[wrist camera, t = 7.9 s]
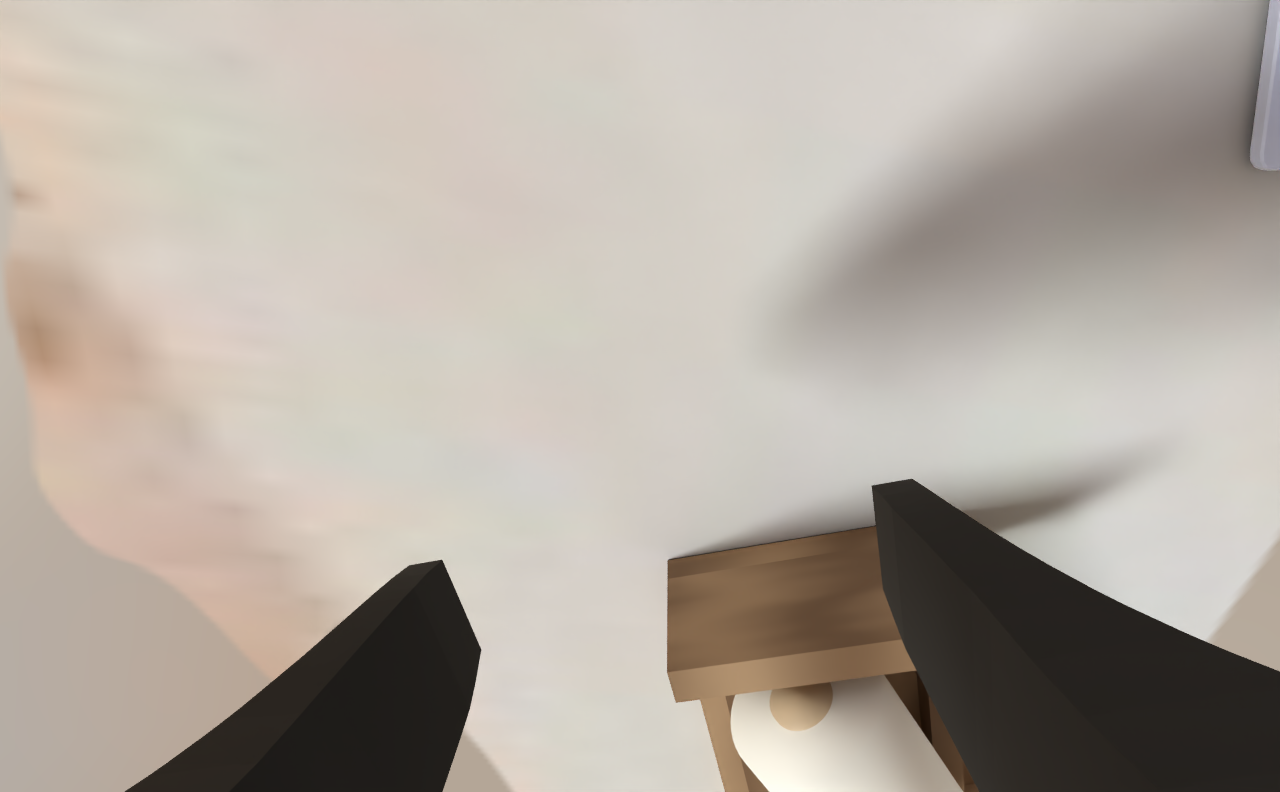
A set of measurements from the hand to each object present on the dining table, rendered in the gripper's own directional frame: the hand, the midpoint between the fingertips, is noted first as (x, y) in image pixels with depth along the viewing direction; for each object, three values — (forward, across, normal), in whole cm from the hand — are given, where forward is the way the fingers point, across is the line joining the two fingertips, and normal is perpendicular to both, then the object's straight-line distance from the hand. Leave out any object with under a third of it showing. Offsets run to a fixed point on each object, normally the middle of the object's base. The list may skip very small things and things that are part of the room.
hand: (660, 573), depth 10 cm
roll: (+8, -3, +14) cm, 16 cm away
